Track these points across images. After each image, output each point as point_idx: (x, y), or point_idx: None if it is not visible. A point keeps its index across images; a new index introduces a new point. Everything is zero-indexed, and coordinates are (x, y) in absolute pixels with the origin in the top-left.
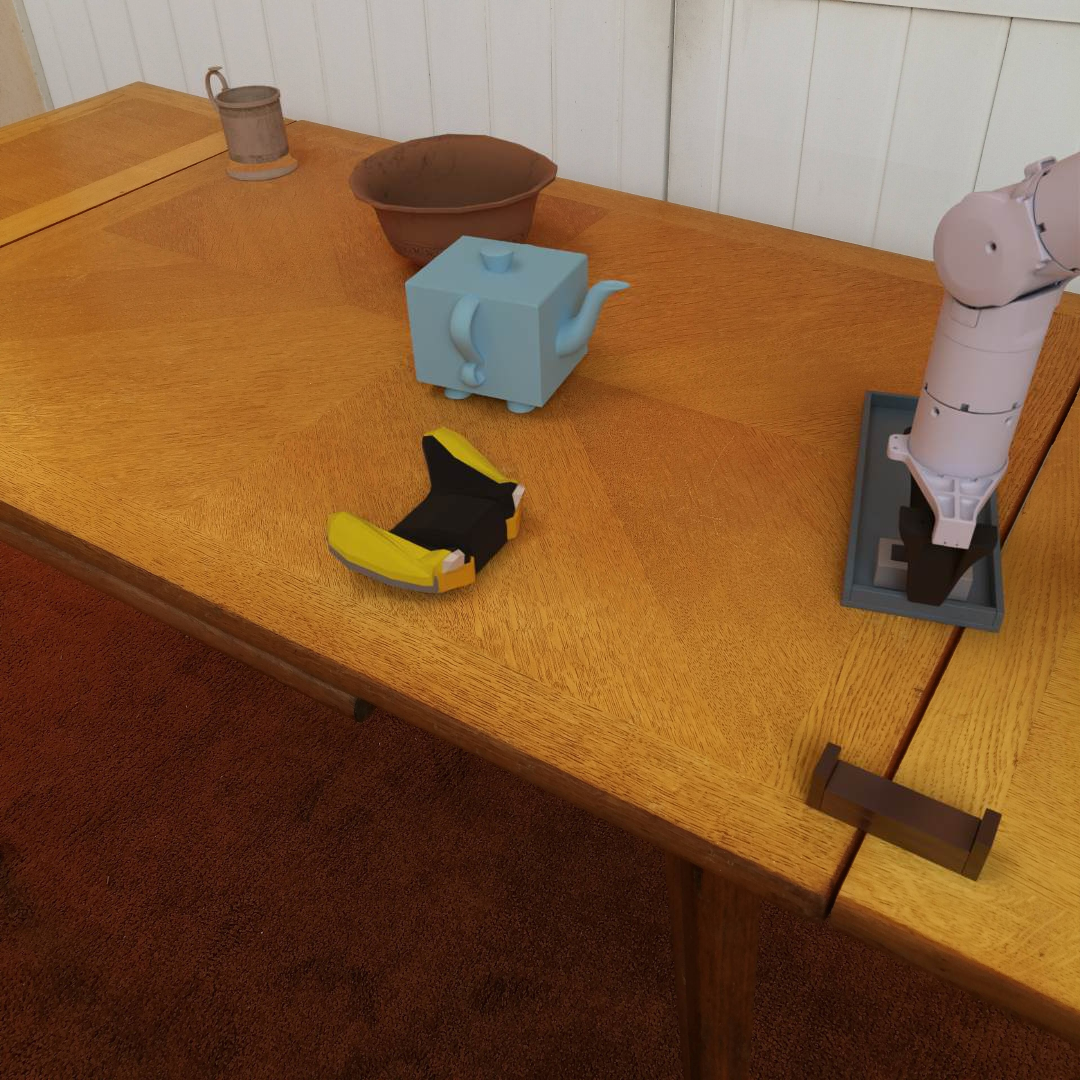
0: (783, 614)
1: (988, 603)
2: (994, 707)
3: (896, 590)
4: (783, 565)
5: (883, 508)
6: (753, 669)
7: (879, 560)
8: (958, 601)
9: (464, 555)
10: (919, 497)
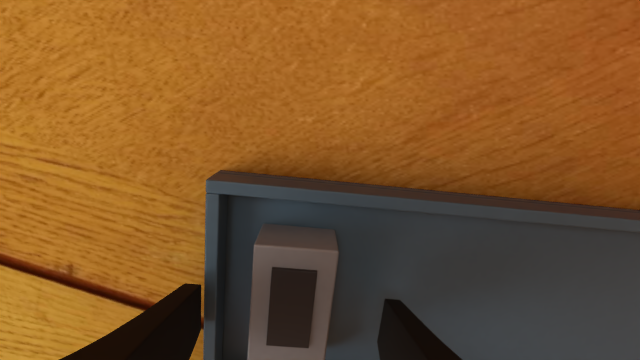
0: (174, 73)
1: None
2: None
3: None
4: (308, 72)
5: (474, 248)
6: (16, 19)
7: (266, 247)
8: None
9: None
10: (411, 357)
